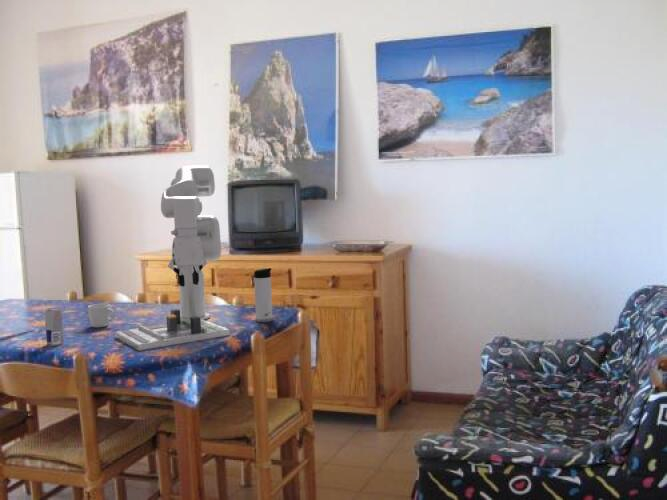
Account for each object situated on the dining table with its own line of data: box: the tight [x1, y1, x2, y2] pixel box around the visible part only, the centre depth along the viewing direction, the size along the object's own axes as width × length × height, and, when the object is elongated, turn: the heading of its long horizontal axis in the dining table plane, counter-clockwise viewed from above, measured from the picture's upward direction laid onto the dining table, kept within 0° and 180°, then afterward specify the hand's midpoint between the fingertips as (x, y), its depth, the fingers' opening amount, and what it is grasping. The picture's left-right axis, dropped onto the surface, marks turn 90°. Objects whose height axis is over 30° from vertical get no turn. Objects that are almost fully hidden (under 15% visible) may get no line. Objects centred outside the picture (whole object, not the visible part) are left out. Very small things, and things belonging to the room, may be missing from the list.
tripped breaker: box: [165, 314, 177, 331], centre depth 235 cm, size 3×2×5 cm
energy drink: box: [44, 307, 65, 347], centre depth 228 cm, size 5×5×12 cm
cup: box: [87, 303, 116, 328], centre depth 255 cm, size 11×8×8 cm
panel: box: [114, 308, 230, 351], centre depth 235 cm, size 24×32×7 cm
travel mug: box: [253, 267, 273, 323], centre depth 256 cm, size 6×7×20 cm
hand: (188, 284), depth 238 cm, fingers open, 4 cm apart
